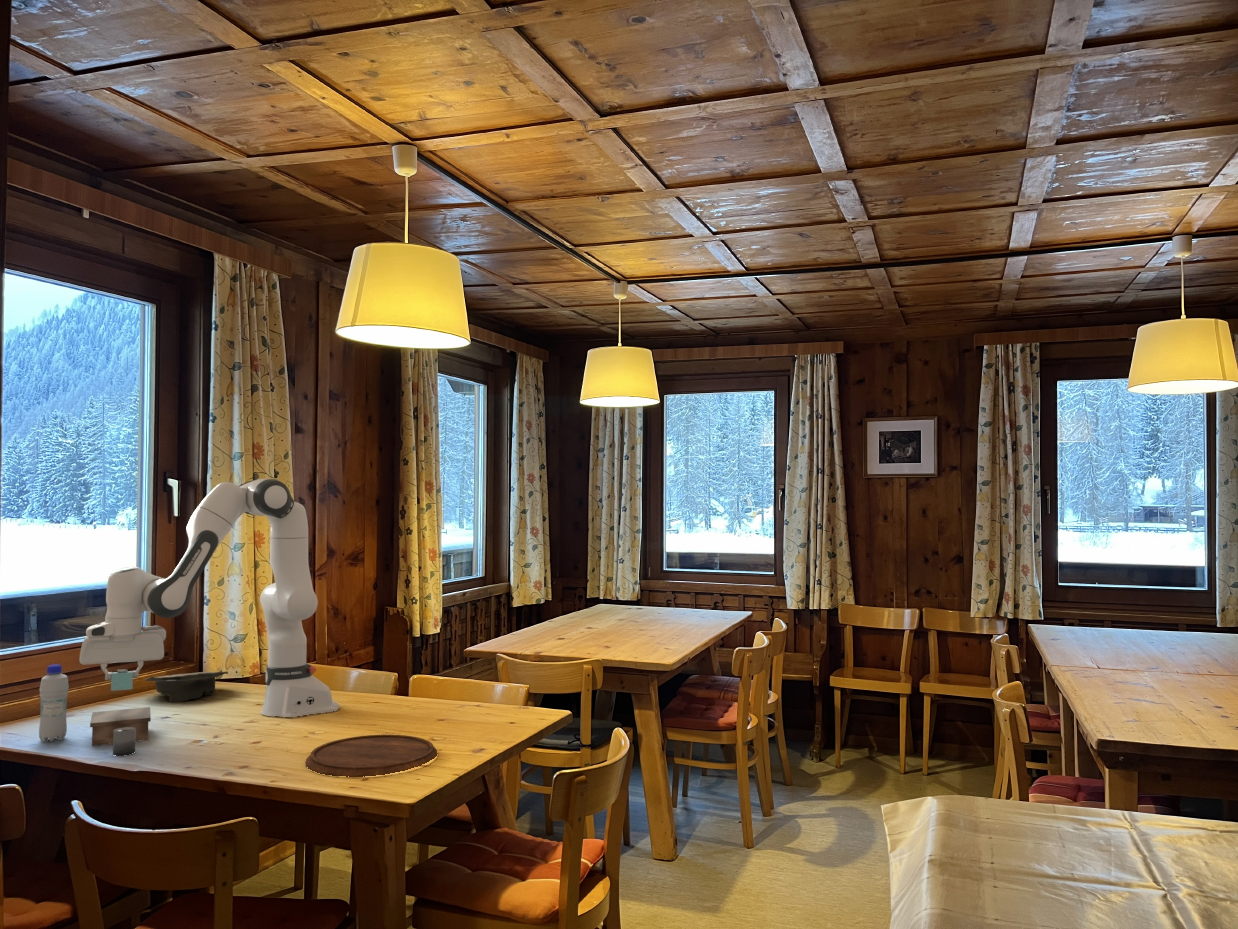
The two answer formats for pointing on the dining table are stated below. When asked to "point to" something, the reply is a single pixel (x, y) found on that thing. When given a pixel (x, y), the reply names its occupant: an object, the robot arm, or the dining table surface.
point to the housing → (122, 680)
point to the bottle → (53, 704)
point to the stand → (119, 724)
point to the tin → (124, 741)
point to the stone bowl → (186, 685)
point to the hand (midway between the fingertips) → (121, 678)
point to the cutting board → (370, 755)
